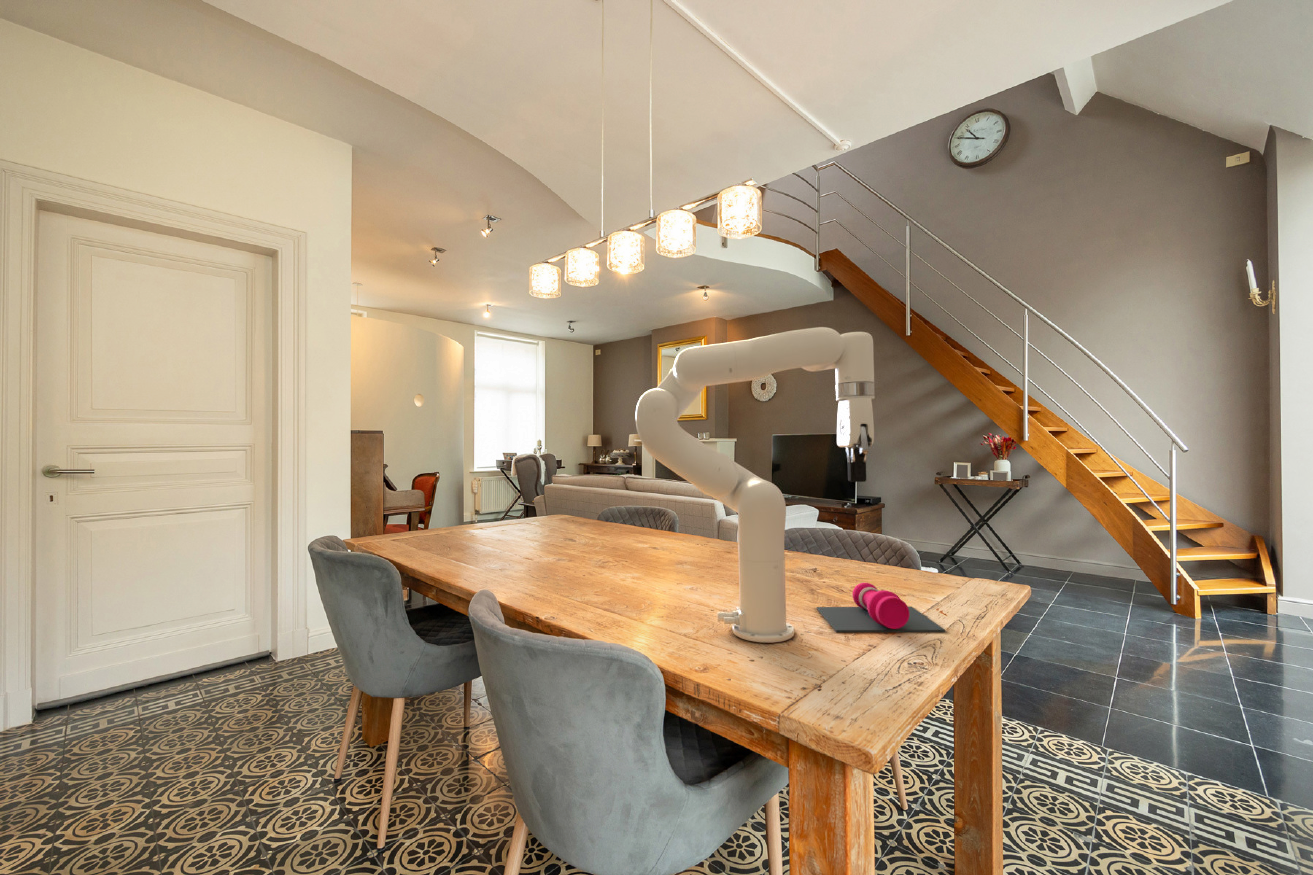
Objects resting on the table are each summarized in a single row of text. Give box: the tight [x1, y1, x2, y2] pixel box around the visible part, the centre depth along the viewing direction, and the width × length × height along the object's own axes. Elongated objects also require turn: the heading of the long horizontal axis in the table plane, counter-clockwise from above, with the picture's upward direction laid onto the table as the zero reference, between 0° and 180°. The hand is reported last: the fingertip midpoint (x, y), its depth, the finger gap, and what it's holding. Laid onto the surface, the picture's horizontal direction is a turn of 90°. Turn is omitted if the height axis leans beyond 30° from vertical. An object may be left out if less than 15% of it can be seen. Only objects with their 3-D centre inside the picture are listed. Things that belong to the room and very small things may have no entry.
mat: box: [816, 606, 946, 633], centre depth 118 cm, size 22×16×1 cm
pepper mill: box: [851, 582, 909, 629], centre depth 118 cm, size 7×7×20 cm
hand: (857, 481), depth 111 cm, fingers closed
